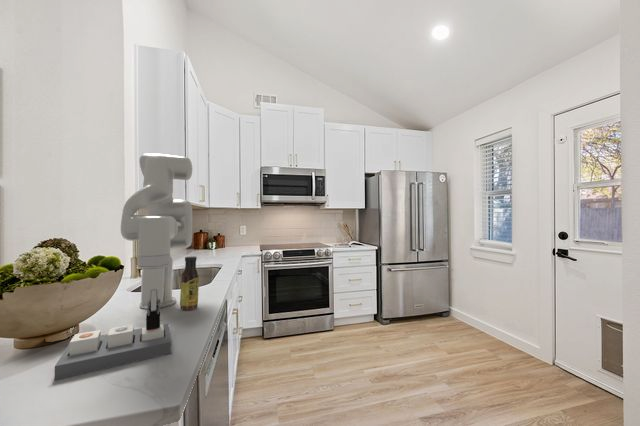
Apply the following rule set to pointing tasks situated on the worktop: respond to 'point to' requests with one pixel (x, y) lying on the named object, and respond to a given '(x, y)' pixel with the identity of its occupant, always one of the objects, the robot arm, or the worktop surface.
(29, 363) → the worktop surface
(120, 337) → the plain key
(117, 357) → the slotted grey tray
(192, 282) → the sauce bottle
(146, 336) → the dot key
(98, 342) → the dot key
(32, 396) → the worktop surface
